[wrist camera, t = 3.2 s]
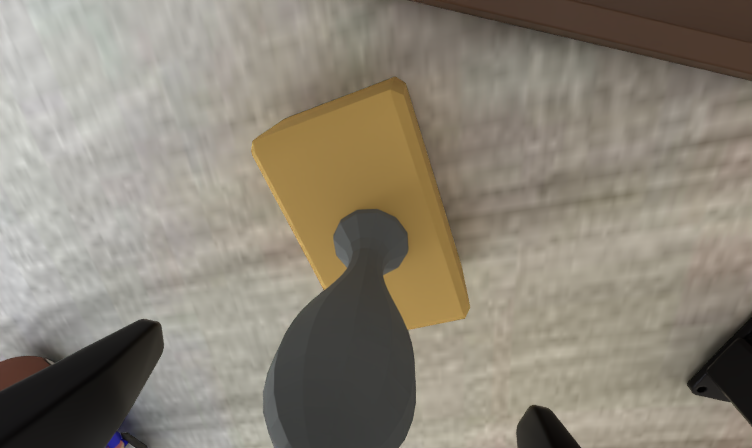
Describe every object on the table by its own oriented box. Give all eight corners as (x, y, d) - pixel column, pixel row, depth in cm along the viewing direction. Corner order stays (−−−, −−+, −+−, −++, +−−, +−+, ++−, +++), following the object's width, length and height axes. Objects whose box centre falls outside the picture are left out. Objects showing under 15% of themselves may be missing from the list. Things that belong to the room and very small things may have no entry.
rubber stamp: (462, 268, 18) (528, 585, 8) (359, 292, 20) (298, 589, 9) (402, 73, 14) (373, 194, 4) (277, 121, 16) (-3, 306, 5)
